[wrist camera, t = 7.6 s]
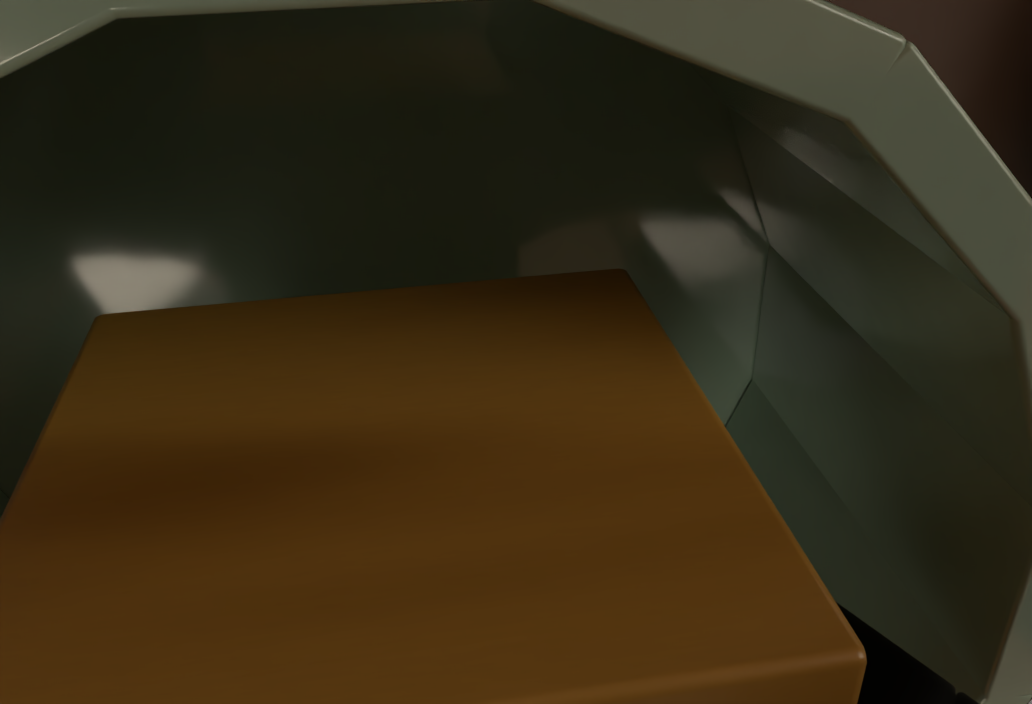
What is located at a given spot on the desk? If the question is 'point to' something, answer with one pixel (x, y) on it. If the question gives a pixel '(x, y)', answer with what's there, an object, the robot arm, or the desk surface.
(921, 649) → the round container
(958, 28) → the desk surface
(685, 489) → the block
